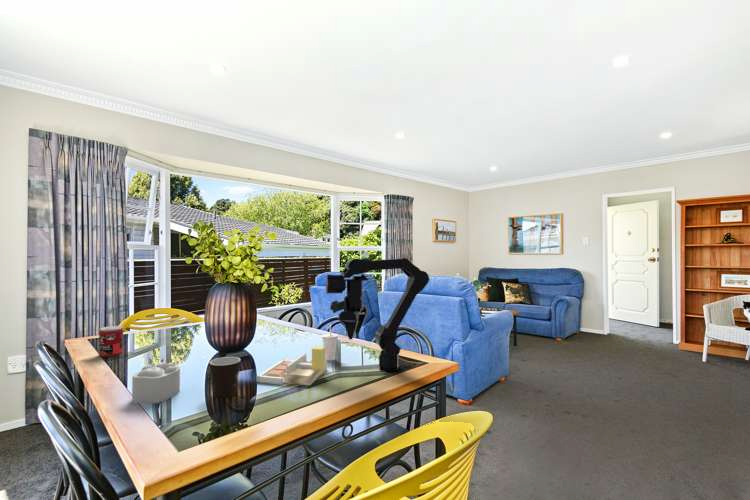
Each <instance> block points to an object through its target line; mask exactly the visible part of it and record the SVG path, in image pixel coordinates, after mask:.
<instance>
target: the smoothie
mask: <svg viewBox="0 0 750 500" xmlns="http://www.w3.org/2000/svg"><path fill="white" fill-rule="evenodd" d="M338 338H339V334H336V333H332V324H330V323H329V333H324V334H322V335H321V339H322V344H323V345H322V346H323V347H325V361H327V362H332V361H335V358H336V350H337V349H336V348H337V343H338Z"/></svg>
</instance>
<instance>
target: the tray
mask: <svg viewBox="0 0 750 500" xmlns="http://www.w3.org/2000/svg"><path fill="white" fill-rule="evenodd" d="M294 360H295V359H293V360H292V359H281V360H280V361H279V362H277V363H275V364H274V365H271V367H269V368H267V369H266V370H264V371H262V372H261V373H259V374H258V375H257V376H256V383H257V382H260V384H270V385H281V386H282V385H284V384H285V383H284V377H272V376H267V373H269V372H270V371H272V370H275V368H276V367H278V366H279V365H282V363H284V362H286V361H294Z"/></svg>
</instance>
